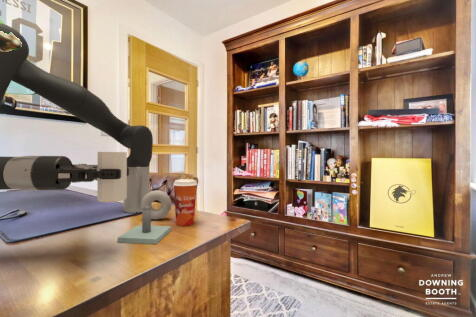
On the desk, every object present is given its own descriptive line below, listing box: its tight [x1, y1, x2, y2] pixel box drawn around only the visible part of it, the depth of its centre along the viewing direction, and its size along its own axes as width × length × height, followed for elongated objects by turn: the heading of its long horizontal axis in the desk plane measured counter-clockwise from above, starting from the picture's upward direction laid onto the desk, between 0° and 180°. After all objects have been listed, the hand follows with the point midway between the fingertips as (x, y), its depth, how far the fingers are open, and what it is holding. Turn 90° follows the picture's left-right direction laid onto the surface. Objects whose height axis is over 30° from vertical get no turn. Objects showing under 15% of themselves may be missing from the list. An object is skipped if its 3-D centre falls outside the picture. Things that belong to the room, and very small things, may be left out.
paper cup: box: [173, 178, 199, 227], centre depth 71 cm, size 8×8×14 cm
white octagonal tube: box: [96, 151, 128, 203], centre depth 51 cm, size 5×5×11 cm
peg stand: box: [116, 206, 172, 245], centre depth 60 cm, size 10×10×8 cm
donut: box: [141, 189, 172, 221], centre depth 75 cm, size 10×4×10 cm, turn 97°
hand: (124, 172), depth 51 cm, fingers closed on white octagonal tube, 5 cm apart
